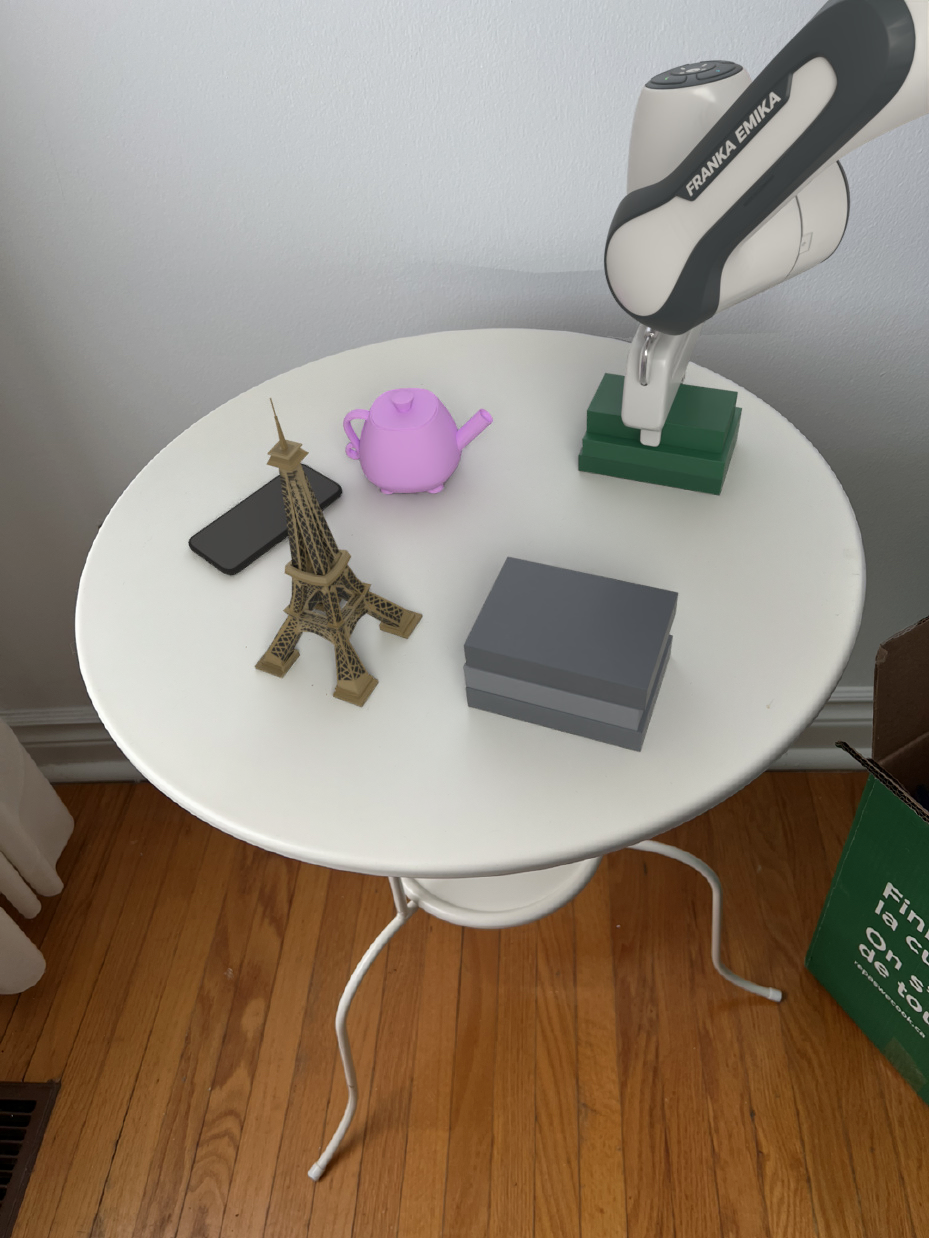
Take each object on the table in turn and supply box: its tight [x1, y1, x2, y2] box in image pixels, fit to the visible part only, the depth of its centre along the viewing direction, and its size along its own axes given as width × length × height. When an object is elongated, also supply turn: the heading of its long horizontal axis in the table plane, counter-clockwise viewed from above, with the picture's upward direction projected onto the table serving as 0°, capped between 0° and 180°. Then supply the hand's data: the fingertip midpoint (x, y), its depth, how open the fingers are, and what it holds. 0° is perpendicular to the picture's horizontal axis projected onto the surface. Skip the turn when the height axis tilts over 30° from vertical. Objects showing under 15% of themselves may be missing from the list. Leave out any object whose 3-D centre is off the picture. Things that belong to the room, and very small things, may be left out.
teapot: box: [342, 387, 494, 495], centre depth 90 cm, size 10×15×9 cm
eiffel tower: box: [254, 397, 423, 708], centre depth 70 cm, size 11×11×25 cm
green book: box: [585, 372, 739, 454], centre depth 88 cm, size 13×6×2 cm, turn 69°
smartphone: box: [187, 462, 343, 576], centre depth 90 cm, size 7×1×15 cm
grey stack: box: [462, 556, 679, 753], centre depth 72 cm, size 14×10×8 cm
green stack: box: [577, 406, 743, 496], centre depth 91 cm, size 14×9×4 cm, turn 69°
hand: (663, 411), depth 88 cm, fingers open, 8 cm apart
